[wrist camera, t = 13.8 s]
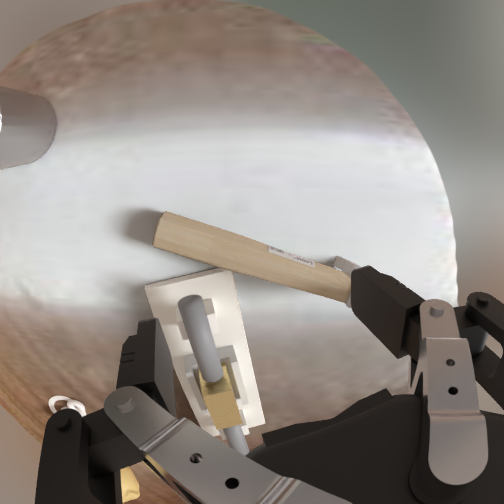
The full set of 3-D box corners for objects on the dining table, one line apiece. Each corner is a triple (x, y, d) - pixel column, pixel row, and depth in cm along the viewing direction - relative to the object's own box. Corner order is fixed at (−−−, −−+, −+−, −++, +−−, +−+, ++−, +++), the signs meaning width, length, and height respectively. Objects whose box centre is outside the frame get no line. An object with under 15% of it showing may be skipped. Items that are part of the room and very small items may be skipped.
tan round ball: (110, 478, 55) (109, 512, 45) (77, 455, 50) (72, 492, 40) (146, 471, 55) (147, 508, 46) (113, 446, 51) (110, 487, 41)
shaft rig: (205, 432, 54) (211, 465, 46) (145, 285, 41) (139, 317, 33) (263, 418, 55) (275, 450, 48) (229, 265, 43) (242, 293, 35)
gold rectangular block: (211, 402, 46) (216, 430, 40) (198, 368, 43) (202, 396, 37) (235, 396, 46) (243, 423, 41) (224, 361, 43) (232, 389, 38)
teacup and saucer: (80, 393, 45) (76, 409, 41) (96, 420, 48) (93, 436, 44) (42, 393, 43) (37, 408, 40) (59, 420, 46) (56, 435, 42)
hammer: (134, 266, 30) (395, 341, 33) (144, 222, 29) (413, 307, 31) (170, 232, 45) (355, 290, 48) (179, 202, 44) (367, 264, 47)
